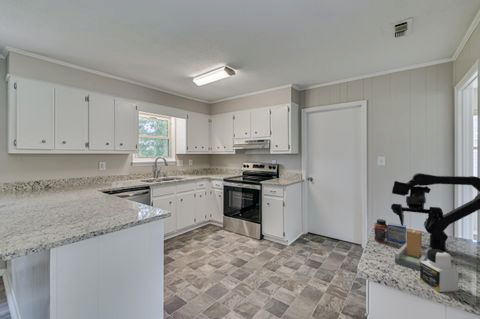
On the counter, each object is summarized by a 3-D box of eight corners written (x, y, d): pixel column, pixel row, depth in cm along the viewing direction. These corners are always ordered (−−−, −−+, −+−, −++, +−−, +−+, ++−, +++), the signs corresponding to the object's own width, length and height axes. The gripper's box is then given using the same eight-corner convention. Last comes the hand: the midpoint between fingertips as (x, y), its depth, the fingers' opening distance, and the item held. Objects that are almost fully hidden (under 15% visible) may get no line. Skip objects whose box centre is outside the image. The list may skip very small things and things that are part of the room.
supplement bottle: (390, 244, 111) (390, 222, 110) (377, 243, 112) (377, 221, 112) (384, 239, 116) (385, 218, 116) (372, 238, 118) (372, 218, 117)
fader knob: (408, 251, 97) (409, 228, 97) (421, 254, 94) (421, 231, 94) (406, 254, 94) (406, 230, 94) (419, 257, 91) (419, 233, 91)
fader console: (406, 249, 104) (406, 241, 104) (431, 256, 97) (431, 247, 97) (395, 262, 91) (395, 253, 91) (422, 271, 85) (422, 261, 84)
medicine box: (387, 240, 115) (387, 224, 115) (387, 238, 119) (387, 222, 119) (405, 244, 111) (406, 227, 111) (405, 241, 114) (405, 224, 114)
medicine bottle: (419, 280, 79) (419, 247, 79) (437, 279, 79) (438, 246, 79) (439, 292, 72) (439, 256, 71) (458, 291, 72) (459, 255, 72)
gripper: (390, 188, 110) (385, 216, 103) (439, 189, 96) (438, 222, 89) (396, 199, 115) (392, 226, 109) (443, 202, 101) (442, 234, 94)
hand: (414, 227), depth 100 cm, fingers open, 9 cm apart
